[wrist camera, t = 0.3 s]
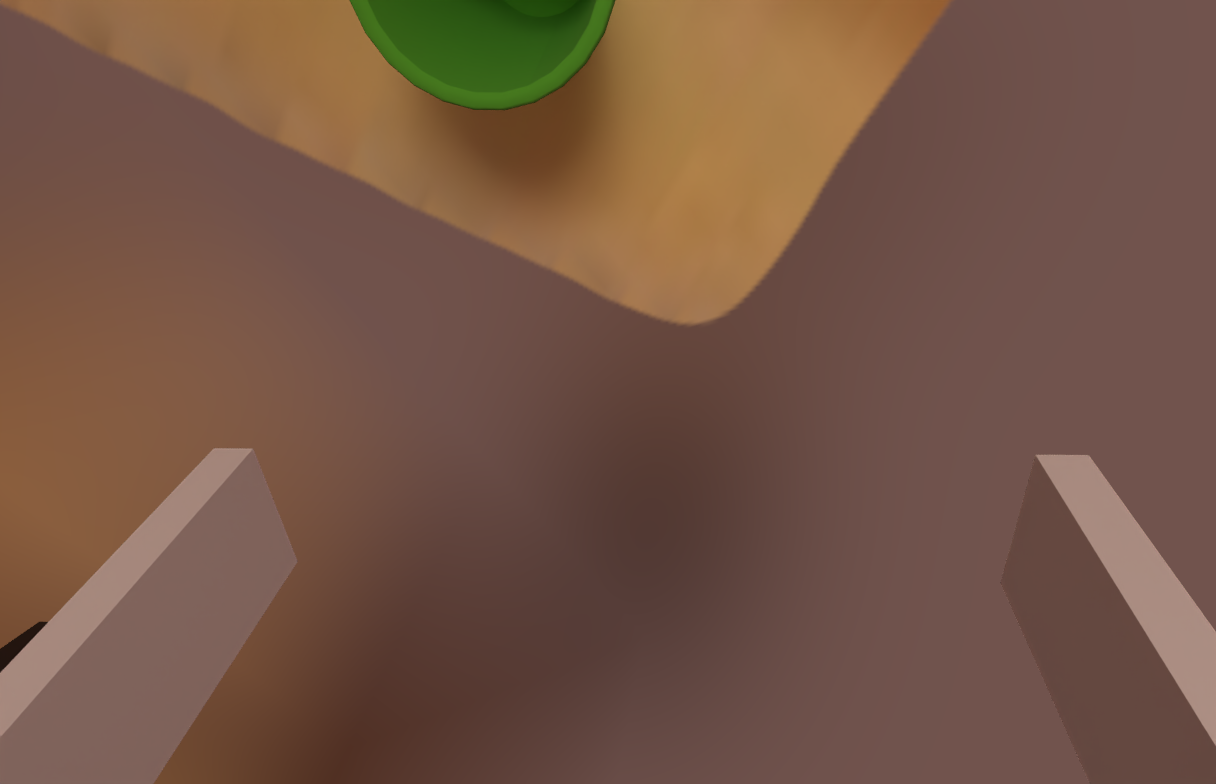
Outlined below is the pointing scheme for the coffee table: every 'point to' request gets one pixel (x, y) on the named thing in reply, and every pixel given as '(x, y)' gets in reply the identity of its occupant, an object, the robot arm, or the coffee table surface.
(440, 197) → the coffee table surface
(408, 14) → the cup
